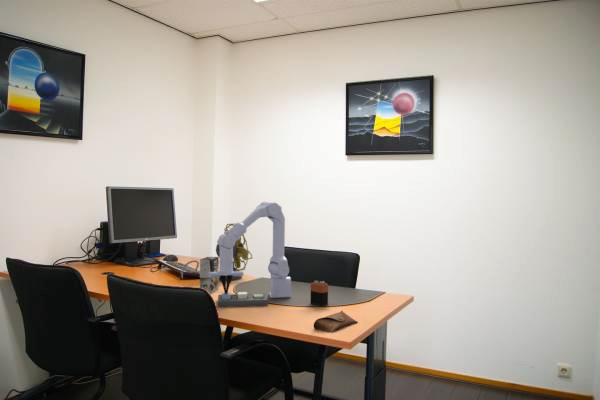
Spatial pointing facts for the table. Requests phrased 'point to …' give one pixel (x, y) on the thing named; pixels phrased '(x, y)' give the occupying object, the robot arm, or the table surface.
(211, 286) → the coffee box
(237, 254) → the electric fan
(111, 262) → the table surface
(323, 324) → the sunglasses case
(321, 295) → the battery
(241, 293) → the ivory button
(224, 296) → the blue button
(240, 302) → the button panel
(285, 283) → the robot arm
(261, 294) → the green button
